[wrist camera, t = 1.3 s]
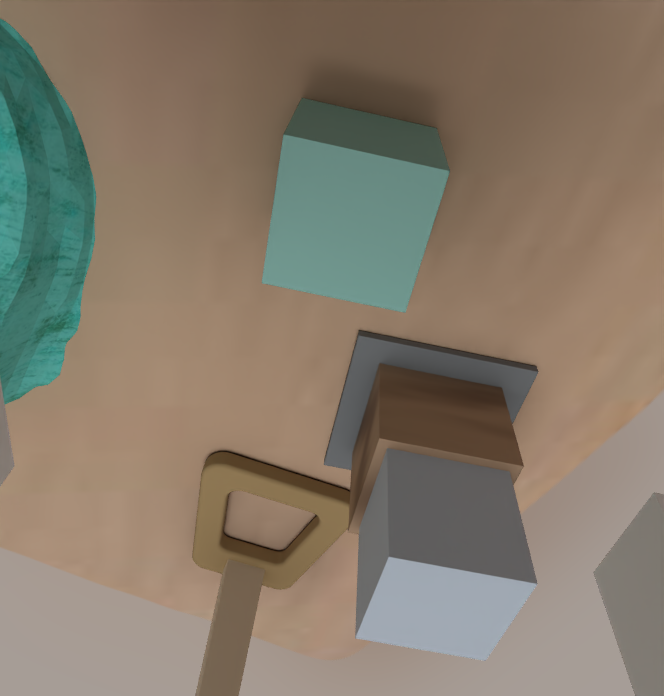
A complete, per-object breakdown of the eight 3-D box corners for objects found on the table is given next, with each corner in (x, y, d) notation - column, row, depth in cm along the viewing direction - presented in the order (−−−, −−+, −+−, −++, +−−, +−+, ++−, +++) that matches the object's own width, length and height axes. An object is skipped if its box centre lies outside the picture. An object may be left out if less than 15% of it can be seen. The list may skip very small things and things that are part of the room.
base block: (379, 363, 32) (379, 438, 27) (502, 387, 33) (523, 466, 28) (352, 452, 36) (347, 532, 31) (462, 473, 37) (474, 555, 32)
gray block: (387, 447, 28) (388, 556, 23) (509, 471, 28) (537, 584, 23) (359, 528, 31) (355, 638, 26) (468, 548, 31) (485, 660, 26)
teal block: (301, 97, 25) (283, 134, 21) (436, 127, 26) (449, 171, 21) (281, 224, 29) (261, 283, 24) (400, 250, 29) (405, 312, 24)
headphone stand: (363, 493, 39) (349, 967, 21) (307, 582, 45) (259, 1011, 27) (211, 444, 37) (53, 912, 19) (174, 544, 43) (28, 971, 25)
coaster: (359, 330, 32) (358, 335, 31) (536, 366, 32) (538, 371, 32) (324, 459, 37) (323, 464, 37) (476, 488, 38) (477, 493, 38)
